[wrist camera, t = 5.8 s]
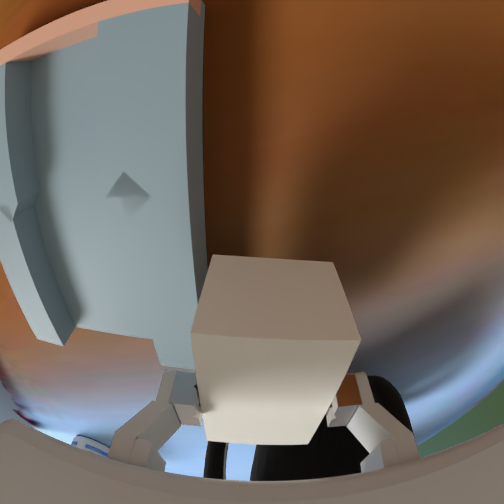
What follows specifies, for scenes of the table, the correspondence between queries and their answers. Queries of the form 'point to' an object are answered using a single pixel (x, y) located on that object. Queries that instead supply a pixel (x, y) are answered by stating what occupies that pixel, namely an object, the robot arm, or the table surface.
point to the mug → (312, 448)
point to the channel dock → (106, 173)
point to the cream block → (270, 348)
